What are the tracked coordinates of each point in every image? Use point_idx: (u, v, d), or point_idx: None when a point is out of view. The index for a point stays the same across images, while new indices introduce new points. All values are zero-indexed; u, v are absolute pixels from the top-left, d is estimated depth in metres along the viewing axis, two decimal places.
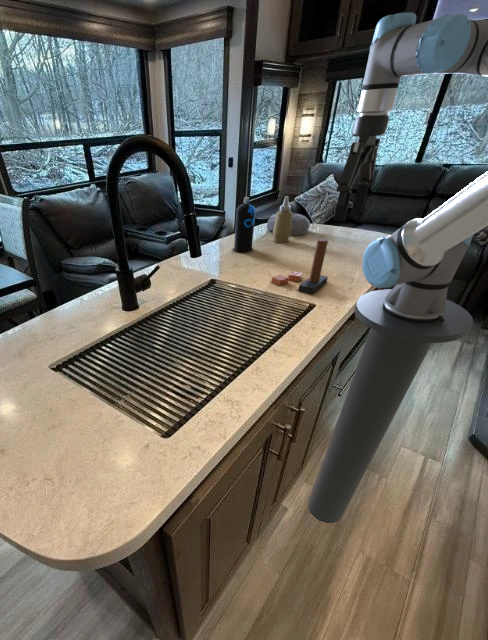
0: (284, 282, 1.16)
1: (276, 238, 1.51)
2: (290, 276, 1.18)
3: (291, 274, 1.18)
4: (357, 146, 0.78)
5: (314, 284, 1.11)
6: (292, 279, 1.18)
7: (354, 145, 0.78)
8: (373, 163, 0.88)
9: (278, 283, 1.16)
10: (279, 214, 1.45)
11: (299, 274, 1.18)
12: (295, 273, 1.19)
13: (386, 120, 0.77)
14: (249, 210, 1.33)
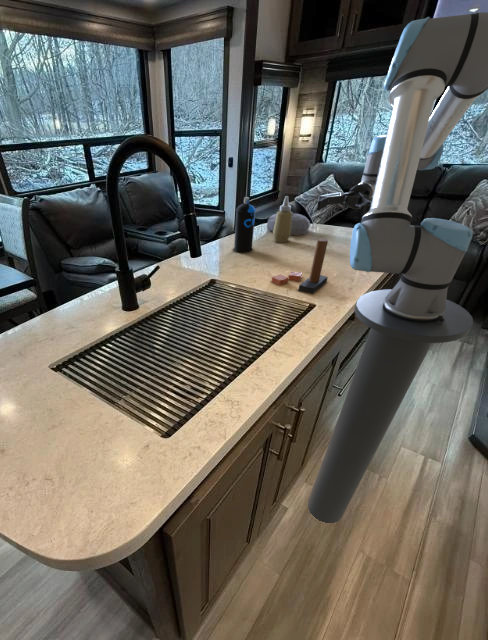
0: (284, 282, 1.16)
1: (276, 238, 1.51)
2: (290, 276, 1.18)
3: (291, 274, 1.18)
4: None
5: (314, 284, 1.11)
6: (292, 279, 1.18)
7: None
8: None
9: (278, 283, 1.16)
10: (279, 214, 1.45)
11: (299, 274, 1.18)
12: (295, 273, 1.19)
13: (360, 183, 1.14)
14: (249, 210, 1.33)
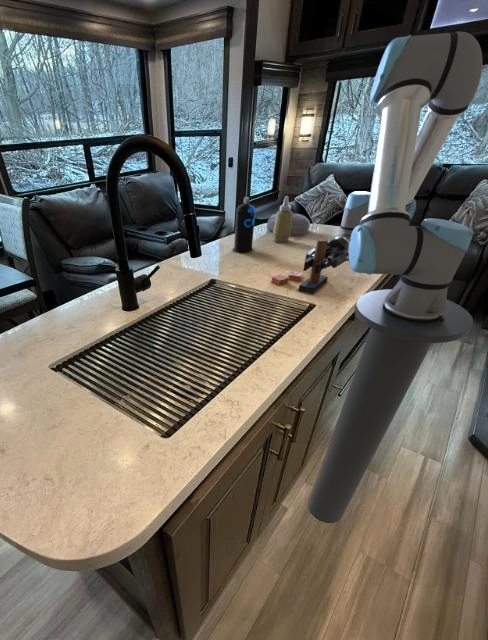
0: (284, 282, 1.16)
1: (276, 238, 1.51)
2: (290, 276, 1.18)
3: (291, 274, 1.18)
4: None
5: (314, 284, 1.11)
6: (292, 279, 1.18)
7: None
8: None
9: (278, 283, 1.16)
10: (279, 214, 1.45)
11: (299, 274, 1.18)
12: (295, 273, 1.19)
13: (336, 237, 1.16)
14: (249, 210, 1.33)
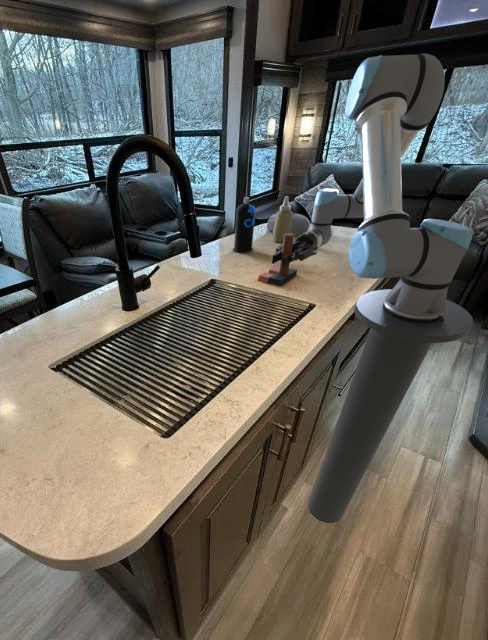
0: None
1: (276, 238, 1.51)
2: (270, 271, 1.23)
3: (271, 269, 1.23)
4: None
5: (283, 276, 1.16)
6: None
7: None
8: (306, 250, 1.15)
9: (266, 280, 1.18)
10: (279, 214, 1.45)
11: None
12: (276, 268, 1.23)
13: (306, 232, 1.22)
14: (249, 210, 1.33)
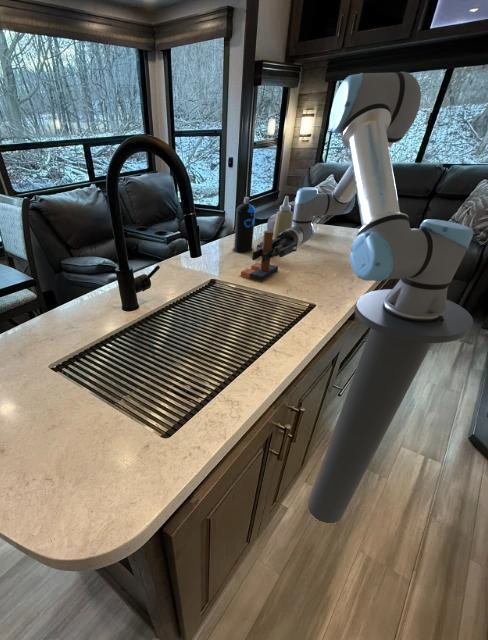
0: None
1: None
2: (252, 267, 1.26)
3: (254, 265, 1.26)
4: None
5: (263, 272, 1.20)
6: None
7: None
8: (286, 247, 1.19)
9: (248, 276, 1.21)
10: (279, 214, 1.45)
11: None
12: (258, 264, 1.27)
13: (286, 230, 1.26)
14: (249, 210, 1.33)
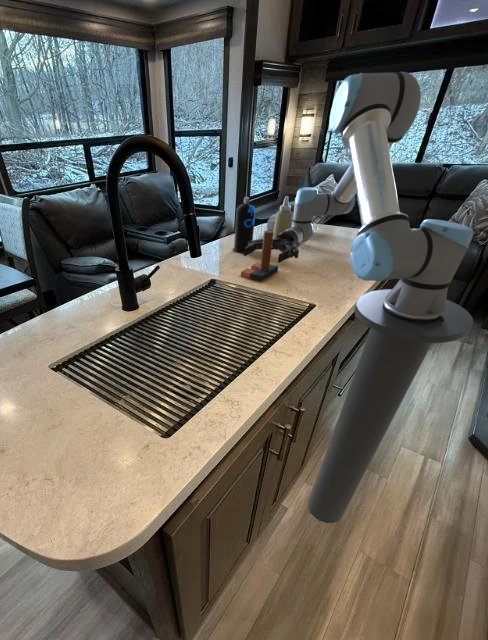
0: None
1: None
2: (252, 267, 1.26)
3: (254, 265, 1.26)
4: None
5: (263, 272, 1.20)
6: None
7: None
8: None
9: (248, 276, 1.21)
10: (279, 214, 1.45)
11: None
12: (258, 264, 1.27)
13: (286, 230, 1.26)
14: (249, 210, 1.33)
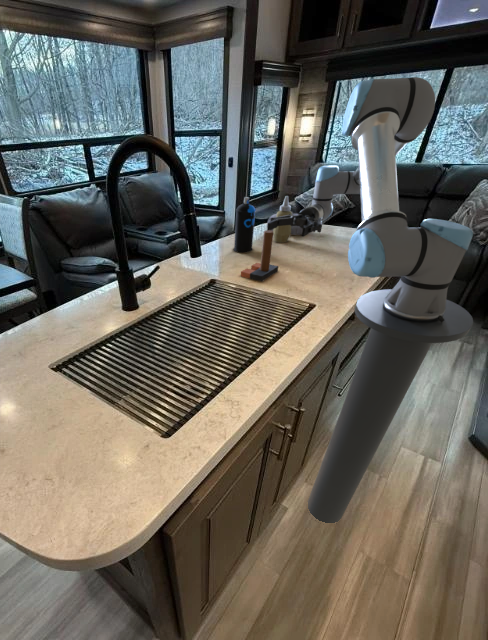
0: None
1: (276, 238, 1.51)
2: (252, 267, 1.26)
3: (254, 265, 1.26)
4: None
5: (263, 272, 1.20)
6: None
7: None
8: (318, 222, 1.21)
9: (248, 276, 1.21)
10: (279, 214, 1.45)
11: None
12: (258, 264, 1.27)
13: (308, 207, 1.29)
14: (249, 210, 1.33)
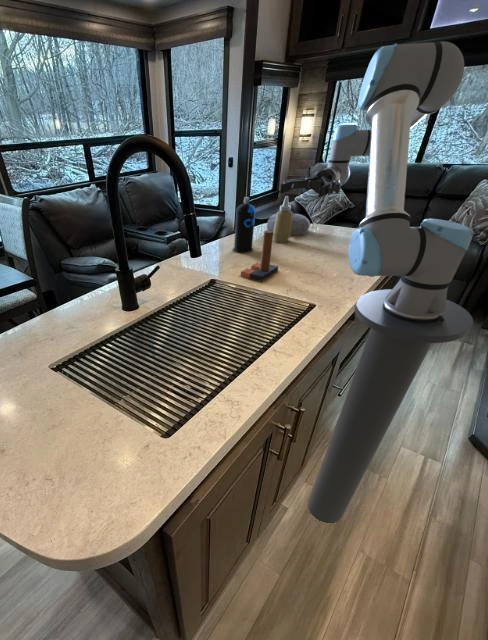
0: None
1: (276, 238, 1.51)
2: (252, 267, 1.26)
3: (254, 265, 1.26)
4: None
5: (263, 272, 1.20)
6: None
7: None
8: (336, 183, 1.11)
9: (248, 276, 1.21)
10: (279, 214, 1.45)
11: None
12: (258, 264, 1.27)
13: (324, 169, 1.19)
14: (249, 210, 1.33)
